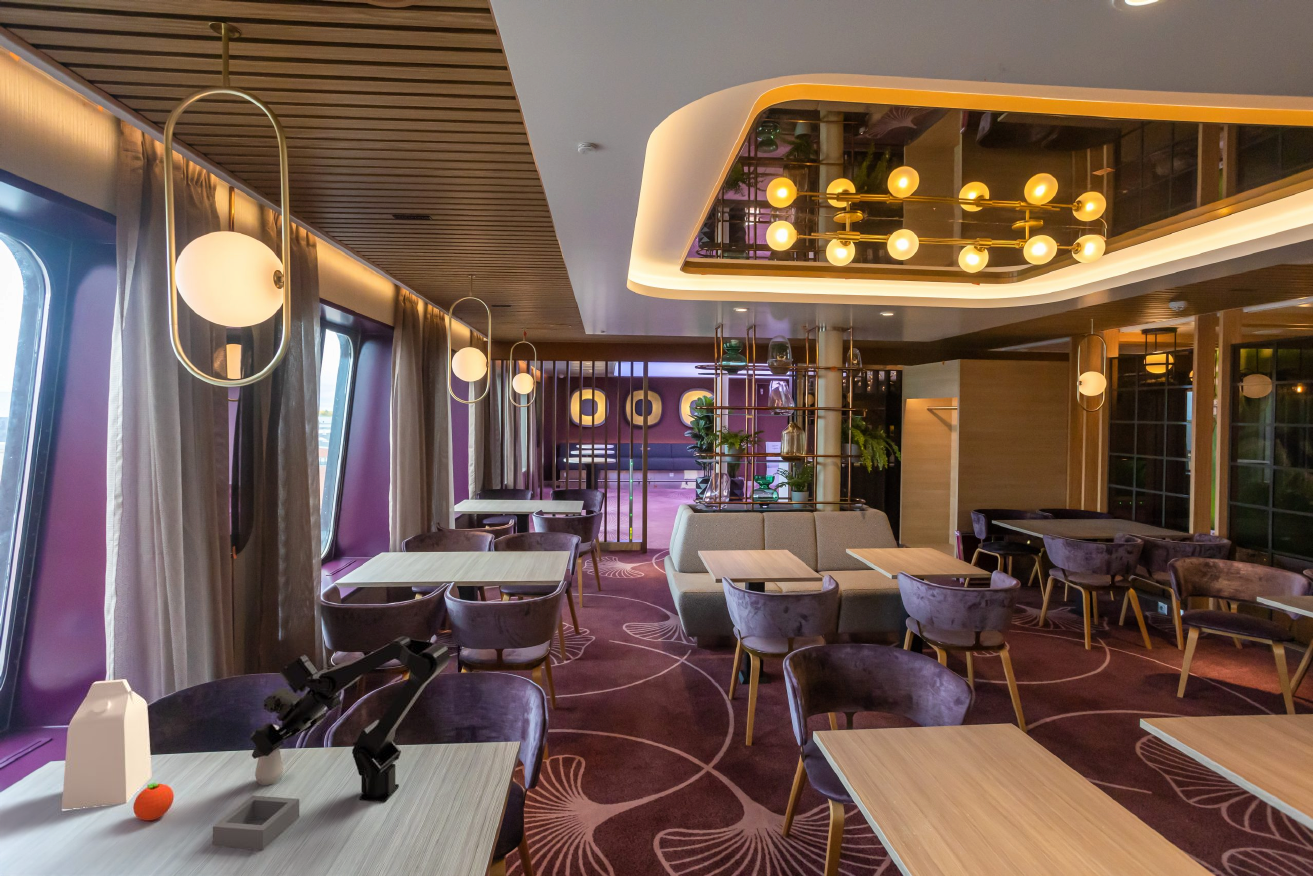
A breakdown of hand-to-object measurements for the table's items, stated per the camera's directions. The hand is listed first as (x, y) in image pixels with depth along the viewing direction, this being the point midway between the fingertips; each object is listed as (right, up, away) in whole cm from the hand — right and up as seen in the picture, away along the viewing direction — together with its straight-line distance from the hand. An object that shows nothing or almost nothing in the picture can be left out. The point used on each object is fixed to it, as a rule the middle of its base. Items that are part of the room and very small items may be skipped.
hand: (268, 747), depth 152 cm
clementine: (-16, -8, -14) cm, 23 cm away
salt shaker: (0, -8, 0) cm, 8 cm away
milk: (-34, -8, -6) cm, 35 cm away
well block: (+9, -8, -19) cm, 23 cm away
